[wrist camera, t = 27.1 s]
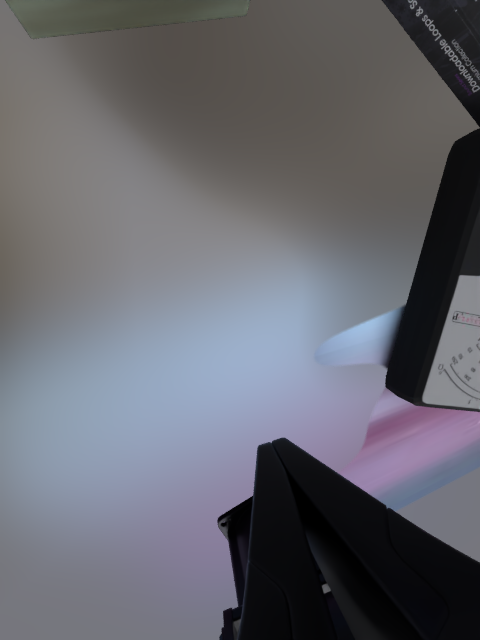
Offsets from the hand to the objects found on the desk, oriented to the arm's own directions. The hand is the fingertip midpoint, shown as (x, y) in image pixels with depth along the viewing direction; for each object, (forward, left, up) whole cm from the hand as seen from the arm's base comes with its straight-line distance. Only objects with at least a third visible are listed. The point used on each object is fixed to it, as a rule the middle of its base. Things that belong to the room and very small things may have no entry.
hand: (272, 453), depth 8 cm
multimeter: (+21, -7, -12) cm, 25 cm away
